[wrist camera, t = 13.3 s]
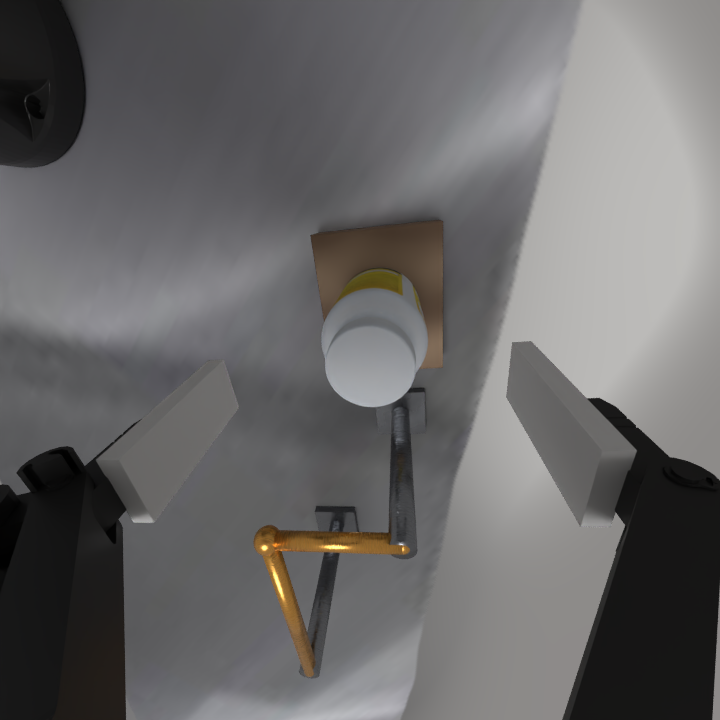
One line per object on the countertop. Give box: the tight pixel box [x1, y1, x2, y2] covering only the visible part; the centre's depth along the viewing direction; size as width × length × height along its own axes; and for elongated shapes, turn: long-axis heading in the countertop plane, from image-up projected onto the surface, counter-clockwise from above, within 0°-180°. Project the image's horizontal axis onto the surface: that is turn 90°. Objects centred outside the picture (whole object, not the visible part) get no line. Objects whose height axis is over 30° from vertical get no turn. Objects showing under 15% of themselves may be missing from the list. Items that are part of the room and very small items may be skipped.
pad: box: [311, 220, 443, 369], centre depth 28 cm, size 12×10×2 cm
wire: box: [254, 388, 426, 678], centre depth 31 cm, size 22×14×16 cm, turn 6°
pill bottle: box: [321, 267, 428, 407], centre depth 22 cm, size 6×6×12 cm
